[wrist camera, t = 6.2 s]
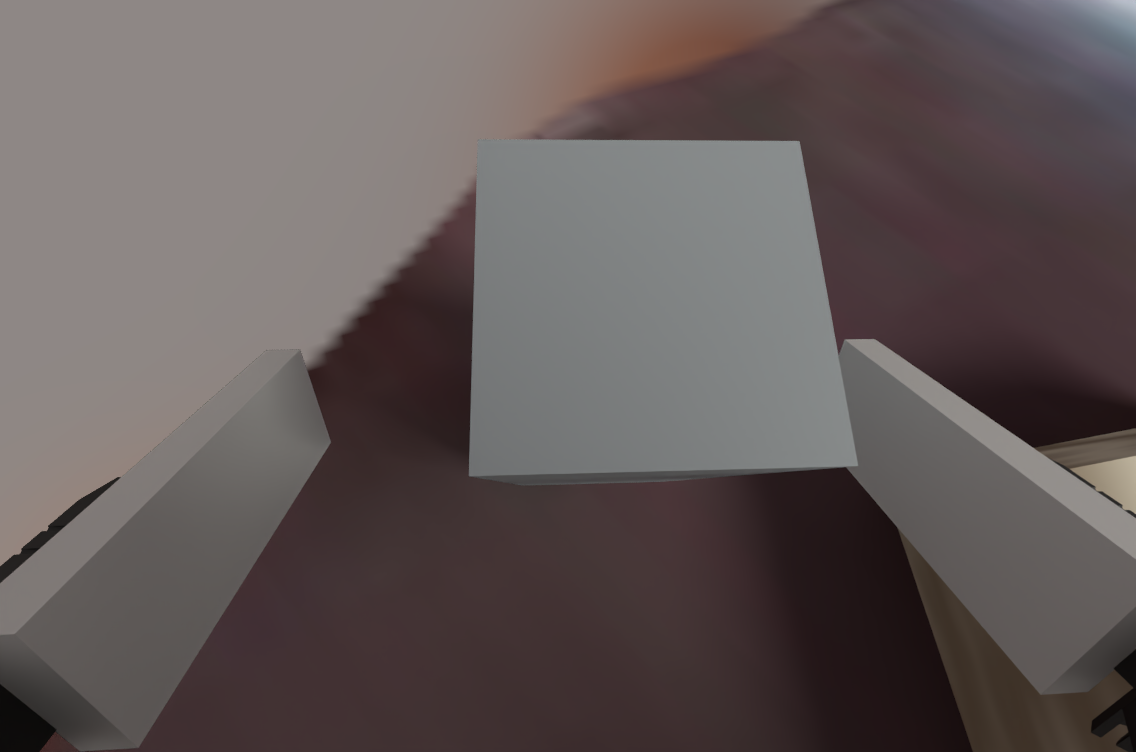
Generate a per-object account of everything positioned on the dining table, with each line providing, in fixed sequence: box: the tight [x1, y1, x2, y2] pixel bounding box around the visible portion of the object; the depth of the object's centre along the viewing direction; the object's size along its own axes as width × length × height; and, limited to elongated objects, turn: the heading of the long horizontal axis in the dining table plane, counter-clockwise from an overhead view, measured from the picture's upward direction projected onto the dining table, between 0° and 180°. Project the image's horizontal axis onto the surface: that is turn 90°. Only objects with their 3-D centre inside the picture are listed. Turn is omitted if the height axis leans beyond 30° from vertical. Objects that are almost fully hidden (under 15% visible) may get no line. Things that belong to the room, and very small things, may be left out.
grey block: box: [469, 139, 858, 485], centre depth 13 cm, size 6×6×12 cm
